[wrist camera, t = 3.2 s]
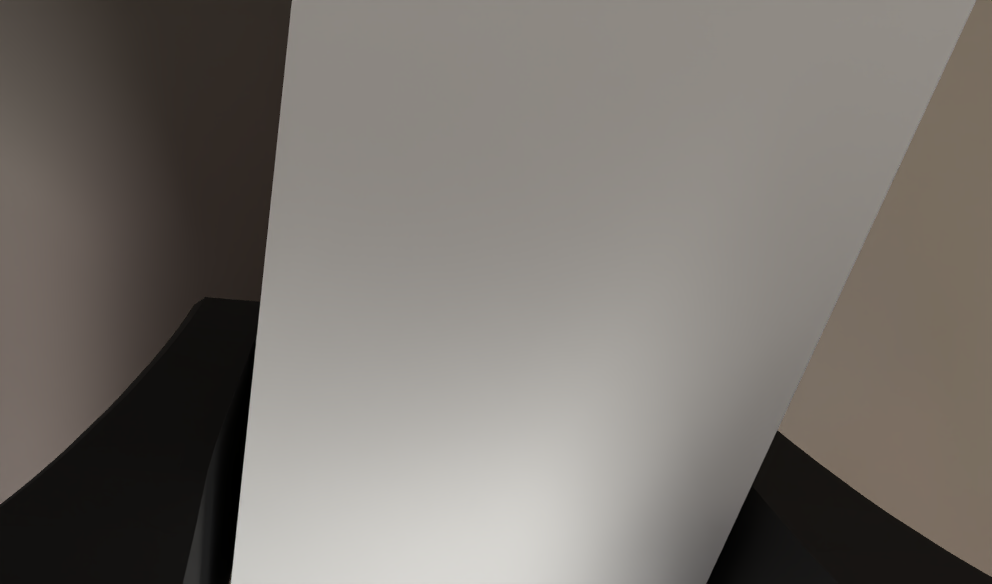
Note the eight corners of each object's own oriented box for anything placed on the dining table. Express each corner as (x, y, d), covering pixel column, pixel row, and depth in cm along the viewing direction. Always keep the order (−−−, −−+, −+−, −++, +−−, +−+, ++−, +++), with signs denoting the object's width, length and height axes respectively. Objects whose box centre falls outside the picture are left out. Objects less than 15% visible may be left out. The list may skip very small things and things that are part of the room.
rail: (219, 741, 16) (176, 1103, 12) (369, -648, 7) (412, -1170, 3) (443, 739, 17) (479, 1074, 13) (813, -491, 8) (1313, -728, 4)
